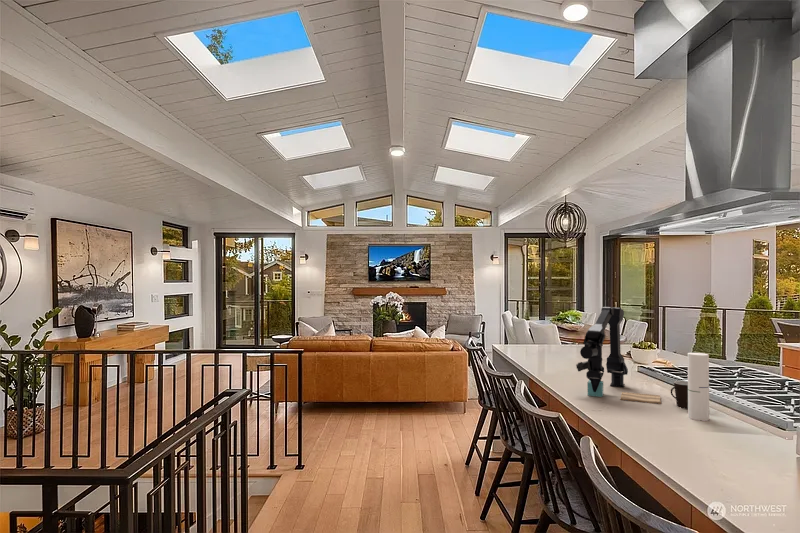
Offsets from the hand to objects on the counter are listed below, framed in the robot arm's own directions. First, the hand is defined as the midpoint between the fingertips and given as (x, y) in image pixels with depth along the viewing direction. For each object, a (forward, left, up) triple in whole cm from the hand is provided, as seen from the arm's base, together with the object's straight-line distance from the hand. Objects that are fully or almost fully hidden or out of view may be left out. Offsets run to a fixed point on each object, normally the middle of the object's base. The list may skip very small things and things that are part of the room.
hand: (595, 390), depth 240 cm
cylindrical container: (+24, +40, -2) cm, 47 cm away
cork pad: (-1, +19, -2) cm, 19 cm away
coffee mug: (+7, +35, -2) cm, 36 cm away
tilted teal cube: (0, 0, -2) cm, 2 cm away
